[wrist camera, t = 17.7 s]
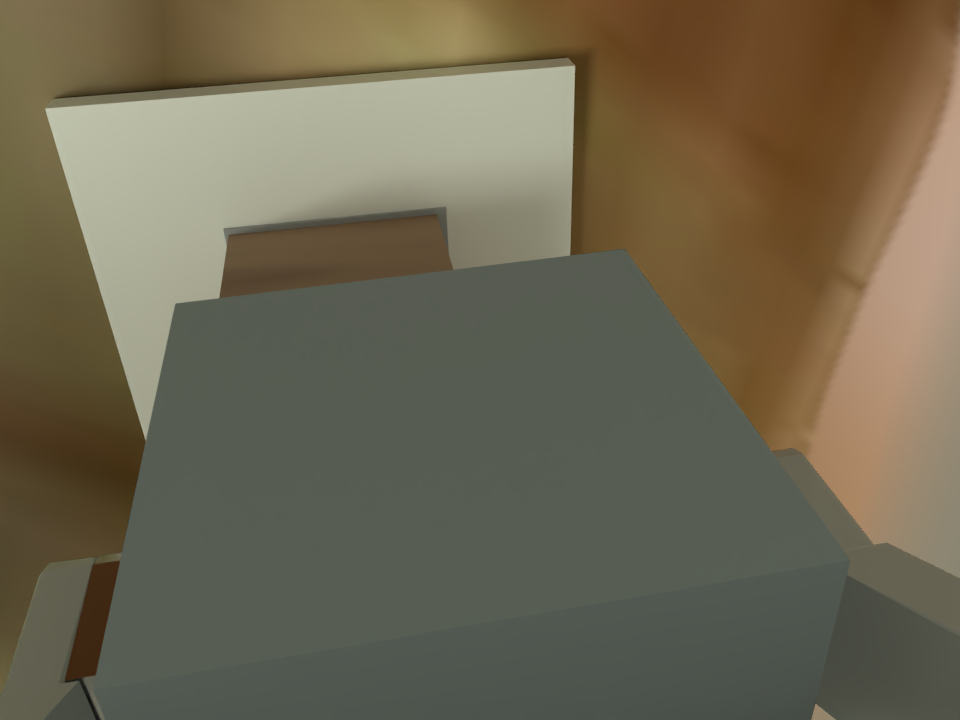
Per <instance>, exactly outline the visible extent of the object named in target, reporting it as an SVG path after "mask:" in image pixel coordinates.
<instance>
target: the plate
mask: <svg viewBox="0 0 960 720" xmlns="http://www.w3.org/2000/svg"><path fill="white" fill-rule="evenodd" d="M574 88H575V65H574V64H573V63H572V62H571V61H570V59H569V58H559V59H547V60H534V61H522V62H509V63H497V64H484V65H472V66H459V67H447V68H434V69H422V70H409V71H397V72H384V73H372V74H359V75H347V76H334V77H322V78H309V79H297V80H284V81H272V82H259V83H247V84H234V85H222V86H209V87H197V88H184V89H172V90H159V91H147V92H134V93H122V94H109V95H97V96H84V97H72V98H59V99H52V100H51V101H50V103H49V104H48V105H47V107H46V108H45V110H46V113H47V117H48V120H49V123H50V127H51V130H52V133H53V137H54V140H55V143H56V146H57V150H58V153H59V156H60V160H61V163H62V166H63V170H64V173H65V176H66V179H67V183H68V186H69V189H70V193H71V196H72V199H73V203H74V206H75V209H76V212H77V216H78V219H79V222H80V226H81V229H82V232H83V236H84V239H85V242H86V245H87V249H88V252H89V255H90V259H91V262H92V265H93V269H94V272H95V275H96V278H97V282H98V285H99V288H100V292H101V295H102V298H103V302H104V305H105V308H106V311H107V315H108V318H109V321H110V325H111V328H112V331H113V335H114V338H115V341H116V344H117V348H118V351H119V354H120V358H121V361H122V364H123V368H124V371H125V374H126V378H127V381H128V384H129V387H130V391H131V394H132V397H133V401H134V404H135V407H136V411H137V414H138V417H139V420H140V424H141V427H142V430H143V434H144V437H145V440H146V438H147V434H148V429H149V424H150V419H151V415H152V410H153V405H154V401H155V396H156V391H157V387H158V382H159V377H160V373H161V368H162V363H163V359H164V354H165V349H166V345H167V340H168V335H169V331H170V326H171V321H172V317H173V312H174V307H175V303H183V302H192V301H200V300H208V299H216V298H219V296H220V289H221V283H222V276H223V269H224V263H225V256H226V249H227V243H228V236H229V235H236V234H246V233H256V232H266V231H275V230H285V229H295V228H305V227H315V226H325V225H335V224H345V223H355V222H365V221H375V220H385V219H395V218H405V217H415V216H425V215H434V214H437V216H438V220H439V223H440V226H441V230H442V233H443V236H444V240H445V243H446V246H447V250H448V253H449V256H450V260H451V263H452V266H453V270H455V269H463V268H471V267H480V266H488V265H496V264H504V263H513V262H521V261H529V260H537V259H546V258H554V257H562V256H570V246H571V206H572V167H573V128H574Z"/></svg>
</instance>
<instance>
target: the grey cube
mask: <svg viewBox="0 0 960 720" xmlns="http://www.w3.org/2000/svg"><path fill="white" fill-rule="evenodd" d="M849 564H850V559H849V557H848V556H847V554H846V553H845V552H844V550H843V549H842V548H841V546H840V545H839V543H838V542H837V541H836V539H835V538H834V537H833V535H832V534H831V532H830V531H829V530H828V528H827V527H826V526H825V524H824V523H823V521H822V520H821V519H820V517H819V516H818V515H817V513H816V512H815V510H814V509H813V508H812V506H811V505H810V504H809V502H808V501H807V499H806V498H805V497H804V495H803V494H802V493H801V491H800V490H799V488H798V487H797V486H796V484H795V483H794V482H793V480H792V479H791V477H790V476H789V475H788V473H787V472H786V470H785V469H784V468H783V466H782V465H781V464H780V462H779V461H778V459H777V458H776V457H775V455H774V454H773V453H772V451H771V450H770V448H769V447H768V446H767V444H766V443H765V442H764V440H763V439H762V437H761V436H760V435H759V433H758V432H757V431H756V429H755V428H754V426H753V425H752V424H751V422H750V421H749V420H748V418H747V417H746V415H745V414H744V413H743V411H742V410H741V409H740V407H739V406H738V404H737V403H736V402H735V400H734V399H733V398H732V396H731V395H730V393H729V392H728V391H727V389H726V388H725V386H724V385H723V384H722V382H721V381H720V380H719V378H718V377H717V375H716V374H715V373H714V371H713V370H712V369H711V367H710V366H709V364H708V363H707V362H706V360H705V359H704V358H703V356H702V355H701V353H700V352H699V351H698V349H697V348H696V347H695V345H694V344H693V342H692V341H691V340H690V338H689V337H688V336H687V334H686V333H685V331H684V330H683V329H682V327H681V326H680V325H679V323H678V322H677V320H676V319H675V318H674V316H673V315H672V314H671V312H670V311H669V309H668V308H667V307H666V305H665V304H664V302H663V301H662V300H661V298H660V297H659V296H658V294H657V293H656V291H655V290H654V289H653V287H652V286H651V285H650V283H649V282H648V280H647V279H646V278H645V276H644V275H643V274H642V272H641V271H640V269H639V268H638V267H637V265H636V264H635V263H634V261H633V260H632V258H631V257H630V256H629V254H628V253H627V252H626V250H625V249H620V250H611V251H603V252H595V253H587V254H578V255H570V256H562V257H554V258H546V259H537V260H529V261H521V262H513V263H504V264H496V265H488V266H480V267H471V268H463V269H455V270H447V271H439V272H430V273H422V274H414V275H406V276H397V277H389V278H381V279H373V280H365V281H356V282H348V283H340V284H332V285H323V286H315V287H307V288H299V289H290V290H282V291H274V292H266V293H258V294H249V295H241V296H233V297H225V298H216V299H208V300H200V301H192V302H183V303H175V307H174V312H173V317H172V321H171V326H170V331H169V335H168V340H167V345H166V349H165V354H164V359H163V363H162V368H161V373H160V377H159V382H158V387H157V391H156V396H155V401H154V405H153V410H152V415H151V419H150V424H149V429H148V434H147V438H146V443H145V448H144V452H143V457H142V462H141V466H140V471H139V476H138V480H137V485H136V490H135V494H134V499H133V504H132V508H131V513H130V518H129V522H128V527H127V532H126V536H125V541H124V546H123V551H122V555H121V560H120V565H119V569H118V574H117V579H116V583H115V588H114V593H113V597H112V602H111V607H110V611H109V616H108V621H107V625H106V630H105V635H104V639H103V644H102V649H101V653H100V658H99V663H98V668H97V672H96V677H95V682H94V686H93V692H94V694H95V696H96V699H97V701H98V703H99V706H100V708H101V710H102V713H103V715H104V718H105V720H811V719H812V715H813V710H814V707H815V703H816V698H817V694H818V690H819V686H820V682H821V678H822V674H823V670H824V666H825V662H826V658H827V654H828V650H829V645H830V641H831V637H832V633H833V629H834V625H835V621H836V617H837V613H838V609H839V605H840V601H841V596H842V592H843V588H844V584H845V580H846V576H847V572H848V568H849Z"/></svg>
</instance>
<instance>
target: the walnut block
mask: <svg viewBox="0 0 960 720" xmlns="http://www.w3.org/2000/svg"><path fill="white" fill-rule="evenodd" d="M447 270H453V266H452V263H451V260H450V256H449V253H448V250H447V246H446V243H445V240H444V236H443V233H442V230H441V226H440V223H439V220H438V216H437V214H434V215H425V216H415V217H405V218H395V219H385V220H375V221H365V222H355V223H345V224H335V225H325V226H315V227H305V228H295V229H285V230H275V231H266V232H256V233H246V234H236V235H229V236H228V243H227V249H226V256H225V263H224V269H223V276H222V283H221V289H220V296H219V298H225V297H233V296H241V295H249V294H258V293H266V292H274V291H282V290H290V289H299V288H307V287H315V286H323V285H332V284H340V283H348V282H356V281H365V280H373V279H381V278H389V277H397V276H406V275H414V274H422V273H430V272H439V271H447Z"/></svg>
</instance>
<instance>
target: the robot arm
mask: <svg viewBox="0 0 960 720" xmlns="http://www.w3.org/2000/svg"><path fill="white" fill-rule="evenodd" d="M772 453H773V454H774V455H775V457H776V458H777V459H778V461H779V462H780V464H781V465H782V466H783V468H784V469H785V470H786V472H787V473H788V475H789V476H790V477H791V479H792V480H793V482H794V483H795V484H796V486H797V487H798V488H799V490H800V491H801V493H802V494H803V495H804V497H805V498H806V499H807V501H808V502H809V504H810V505H811V506H812V508H813V509H814V510H815V512H816V513H817V515H818V516H819V517H820V519H821V520H822V521H823V523H824V524H825V526H826V527H827V528H828V530H829V531H830V532H831V534H832V535H833V537H834V538H835V539H836V541H837V542H838V543H839V545H840V546H841V548H842V549H843V550H844V552H845V553H846V554H847V556H848V557H849V559H850V564H849V568H848V572H847V576H846V580H845V584H844V588H843V592H842V596H841V601H840V605H839V609H838V613H837V617H836V621H835V625H834V629H833V633H832V637H831V641H830V645H829V650H828V654H827V658H826V662H825V666H824V670H823V674H822V678H821V682H820V686H819V690H818V694H817V698H816V704H817V705H818V706H819V707H821V708H822V709H823V710H825V711H826V712H827V713H828V714H830V715H831V716H832V717H834V718H835V719H836V720H960V578H958V577H956V576H954V575H952V574H950V573H947V572H946V571H944V570H942V569H940V568H937V567H935V566H934V565H932V564H929V563H927V562H925V561H923V560H921V559H919V558H917V557H915V556H913V555H911V554H909V553H907V552H905V551H903V550H901V549H899V548H897V547H895V546H893V545H890V544H889V543H882V544H876V545H874V544H873V543H872V541H871V540H870V539H869V538H868V536H867V535H866V534H865V532H864V531H863V530H862V529H861V528H860V526H859V525H858V524H857V522H856V521H855V520H854V518H853V517H852V516H851V515H850V513H849V512H848V511H847V509H846V508H845V507H844V506H843V504H842V503H841V502H840V501H839V499H838V498H837V497H836V496H835V494H834V493H833V492H832V491H831V489H830V488H829V487H828V485H827V484H826V483H825V482H824V480H823V479H822V478H821V476H820V475H819V474H818V473H817V471H816V470H815V469H814V468H813V466H812V465H811V464H810V462H809V461H808V460H807V459H806V457H805V456H804V455H803V454H802V452H800V451H798V450H796V449H794V448H790V449H784V450H778V451H772ZM121 555H122V553H114V554H107V555H100V556H99V557H92V558H84V559H76V560H69V561H61V562H53V563H49V564H48V565H47V566H46V567H45V569H44V570H43V571H42V572H41V573H40V575H39V578H38V581H37V584H36V587H35V590H34V593H33V597H32V600H31V603H30V606H29V609H28V612H27V615H26V619H25V622H24V625H23V628H22V631H21V634H20V638H19V641H18V644H17V647H16V650H15V653H14V656H13V660H12V663H11V666H10V669H9V672H8V675H7V679H6V682H5V685H4V688H3V691H2V694H0V720H105V718H104V715H103V713H102V710H101V708H100V706H99V703H98V701H97V699H96V696H95V694H94V692H93V686H94V682H95V677H96V672H97V668H98V663H99V658H100V653H101V649H102V644H103V639H104V635H105V630H106V625H107V621H108V616H109V611H110V607H111V602H112V597H113V593H114V588H115V583H116V579H117V574H118V569H119V565H120V560H121Z"/></svg>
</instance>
